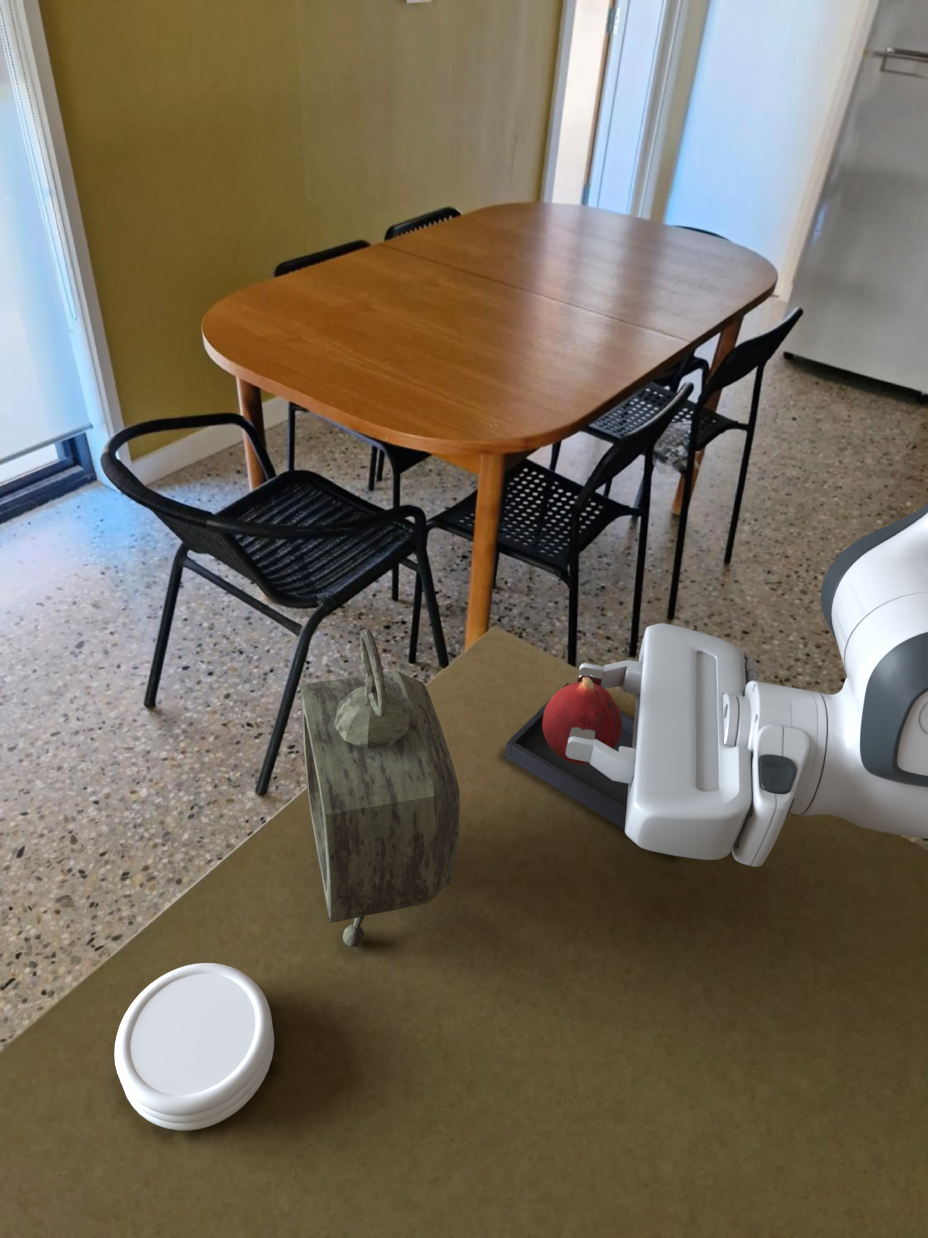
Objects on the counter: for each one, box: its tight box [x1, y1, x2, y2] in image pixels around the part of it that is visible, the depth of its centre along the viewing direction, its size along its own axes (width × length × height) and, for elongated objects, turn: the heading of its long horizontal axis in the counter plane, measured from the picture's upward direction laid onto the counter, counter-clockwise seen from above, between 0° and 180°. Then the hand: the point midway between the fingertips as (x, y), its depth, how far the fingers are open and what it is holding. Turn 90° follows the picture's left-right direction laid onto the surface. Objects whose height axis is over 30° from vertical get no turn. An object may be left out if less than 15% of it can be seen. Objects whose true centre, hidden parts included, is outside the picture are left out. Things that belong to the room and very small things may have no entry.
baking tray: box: [503, 682, 669, 856], centre depth 83 cm, size 17×11×2 cm, turn 53°
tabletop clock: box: [299, 628, 461, 948], centre depth 65 cm, size 14×9×25 cm, turn 15°
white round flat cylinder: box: [113, 962, 275, 1131], centre depth 59 cm, size 10×10×4 cm
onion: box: [542, 676, 622, 764], centre depth 66 cm, size 6×6×8 cm
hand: (572, 708), depth 65 cm, fingers closed on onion, 5 cm apart
